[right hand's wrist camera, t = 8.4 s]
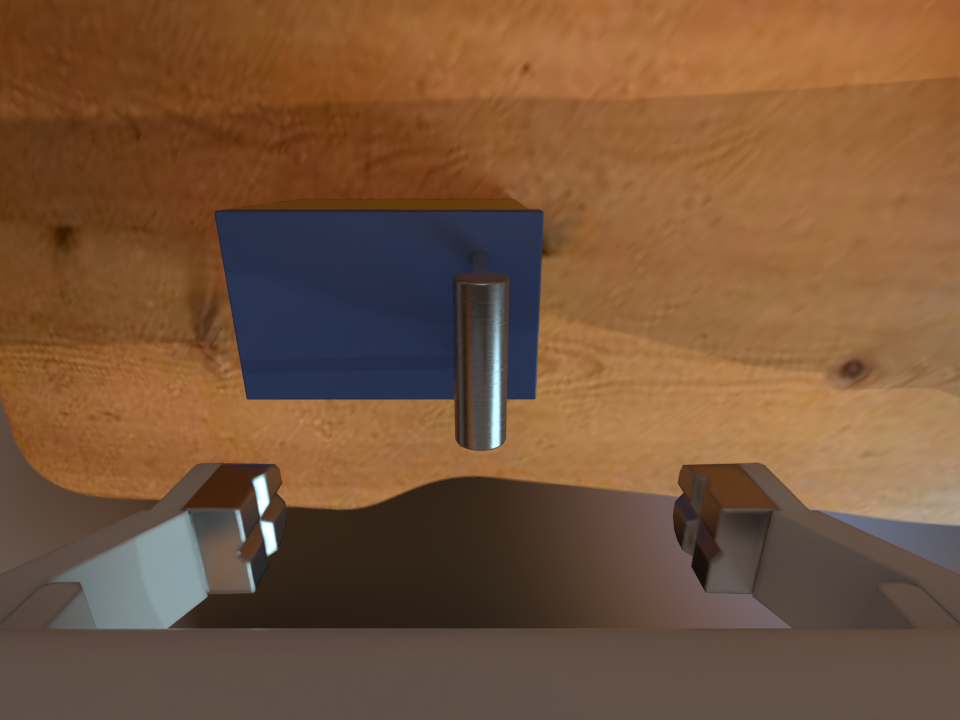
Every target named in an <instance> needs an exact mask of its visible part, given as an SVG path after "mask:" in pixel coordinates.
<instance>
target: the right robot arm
mask: <svg viewBox="0 0 960 720" xmlns="http://www.w3.org/2000/svg"><path fill="white" fill-rule="evenodd" d="M281 484H282V479H281V474H280V469H279V468H278V467H277V466H276V465H275V464H242V463H226V464H225V463H201V464H196V465H195V466H194V467H193V468H192V469H191V470H190V471H189V472H188V473H187V474H186V475H185V476H184V477H183V478H182V479H181V480H180V481H179V482H178V483H177V484H176V485H175V486H174V487H173V488H172V489H171V490H170V491H169V492H168V493H167V494H166V495H165V496H164V497H163V498H162V499H161V500H160V501H159V502H158V503H157V504H156V505H155V506H154V507H153V508H152V509H151V510H150V511H140V512H138V513H136V514H133V515H131V516H129V517H127V518H124V519H122V520H120V521H118V522H116V523H113V524H111V525H109V526H107V527H104V528H102V529H100V530H98V531H96V532H93V533H91V534H89V535H87V536H84V537H82V538H80V539H78V540H75V541H73V542H71V543H69V544H67V545H64V546H62V547H60V548H58V549H56V550H53V551H51V552H49V553H47V554H44V555H42V556H40V557H38V558H35V559H33V560H31V561H29V562H27V563H24V564H22V565H20V566H18V567H15V568H13V569H11V570H9V571H6V572H4V573H2V574H0V720H960V574H958V573H955V572H953V571H951V570H949V569H946V568H944V567H942V566H940V565H938V564H935V563H933V562H931V561H929V560H926V559H924V558H922V557H920V556H918V555H915V554H913V553H911V552H909V551H907V550H904V549H902V548H900V547H898V546H895V545H893V544H891V543H889V542H887V541H884V540H882V539H880V538H878V537H875V536H873V535H871V534H869V533H867V532H864V531H862V530H860V529H858V528H855V527H853V526H851V525H849V524H847V523H844V522H842V521H840V520H838V519H836V518H833V517H831V516H829V515H827V514H824V513H822V512H820V511H810V510H809V509H808V508H807V507H806V506H805V505H804V504H803V503H802V502H801V501H800V500H799V499H798V498H797V497H796V496H795V495H794V494H793V493H792V492H791V491H790V490H789V489H788V488H787V487H786V486H785V485H784V484H783V483H782V482H781V481H780V480H779V479H778V478H777V477H776V476H775V475H774V474H773V473H772V472H771V471H770V470H769V469H768V468H767V467H766V466H765V465H763V464H760V463H736V464H699V465H683V466H682V468H681V470H680V473H679V479H678V484H679V486H680V488H681V489H682V491H683V492H684V493H683V494H682V495H681V496H680V497H679V498H678V499H677V500H676V501H675V504H674V513H673V521H674V531H675V534H676V537H677V540H678V542H679V544H680V546H681V548H682V550H684V551H685V552H687V553H688V554H690V555H691V556H693V559H692V565H691V567H692V568H693V570H694V572H695V574H696V576H697V578H698V579H699V581H700V583H701V585H702V587H703V589H704V590H705V592H706V593H728V594H753V597H754V598H755V599H756V600H758V601H759V602H760V603H762V604H763V605H764V606H765V607H767V608H768V609H769V610H770V611H772V612H773V613H774V614H775V615H777V616H778V617H779V618H780V619H782V620H783V621H784V622H786V623H787V624H788V625H789V626H791V627H792V628H793V629H167V628H168V627H170V626H171V625H172V624H173V623H175V622H176V621H177V620H178V619H180V618H181V617H182V616H184V615H185V614H186V613H187V612H189V611H190V610H191V609H192V608H194V607H195V606H196V605H197V604H199V603H200V602H201V601H202V600H204V599H205V598H206V597H207V594H231V593H254V592H255V590H256V589H257V587H258V585H259V583H260V581H261V579H262V578H263V576H264V574H265V572H266V570H267V568H268V567H269V565H268V559H267V556H269V555H270V554H272V553H273V552H275V551H276V550H278V548H279V546H280V544H281V542H282V540H283V537H284V533H285V529H286V525H287V511H286V504H285V501H284V500H283V499H282V498H281V497H280V496H279V495H278V494H277V493H276V492H277V491H278V489H279V488H280V486H281Z"/></svg>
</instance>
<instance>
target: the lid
mask: <svg viewBox="0 0 960 720" xmlns="http://www.w3.org/2000/svg"><path fill="white" fill-rule="evenodd" d="M543 215H544V213H543V211H541V210H539V209H227V210H219V211H215V218H216V224H217V230H218V236H219V241H220V247H221V253H222V259H223V264H224V270H225V276H226V282H227V287H228V293H229V299H230V305H231V310H232V316H233V322H234V328H235V334H236V339H237V345H238V351H239V357H240V362H241V368H242V374H243V380H244V385H245V391H246V397H247V399H455V439H456V441H457V443H458V444H459V445H460V446H462V447H464V448H467V449H470V450H477V451H485V450H491V449H495V448H497V447H499V446H501V445H502V444H503V443H504V442H505V440H506V416H507V399H535V398H536V382H537V358H538V334H539V310H540V287H541V263H542V239H543Z"/></svg>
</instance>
